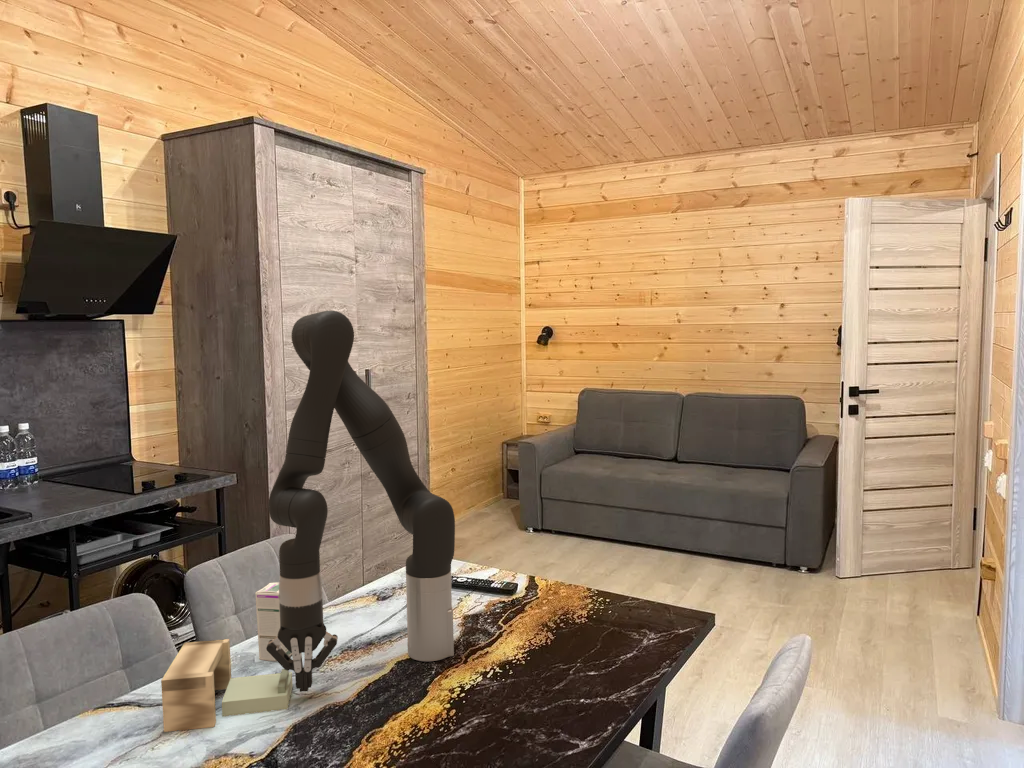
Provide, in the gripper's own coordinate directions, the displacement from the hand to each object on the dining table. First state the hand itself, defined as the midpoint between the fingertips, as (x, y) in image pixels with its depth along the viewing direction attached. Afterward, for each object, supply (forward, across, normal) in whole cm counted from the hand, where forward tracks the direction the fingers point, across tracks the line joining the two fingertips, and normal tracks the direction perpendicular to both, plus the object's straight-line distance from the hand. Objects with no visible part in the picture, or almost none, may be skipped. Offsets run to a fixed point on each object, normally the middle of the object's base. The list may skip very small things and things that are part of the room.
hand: (304, 689), depth 136 cm
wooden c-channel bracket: (+2, +18, 0) cm, 18 cm away
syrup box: (+2, +7, -19) cm, 21 cm away
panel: (+2, +8, -1) cm, 8 cm away
